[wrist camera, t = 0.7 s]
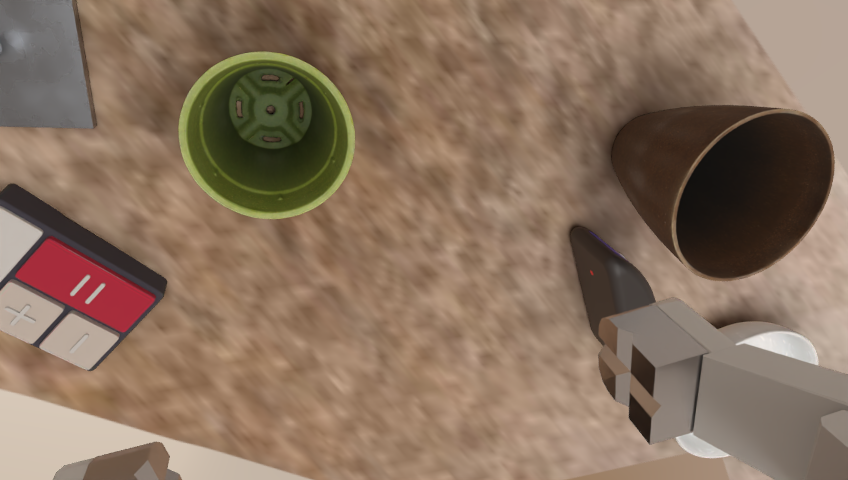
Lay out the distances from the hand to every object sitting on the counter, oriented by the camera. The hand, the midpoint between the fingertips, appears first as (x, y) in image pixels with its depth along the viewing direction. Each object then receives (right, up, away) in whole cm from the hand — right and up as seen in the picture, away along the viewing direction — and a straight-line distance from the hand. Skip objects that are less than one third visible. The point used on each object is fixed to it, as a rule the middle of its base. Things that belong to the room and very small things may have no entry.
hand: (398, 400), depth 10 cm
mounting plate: (-38, +18, +30) cm, 51 cm away
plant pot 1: (-13, +15, +38) cm, 43 cm away
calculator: (-33, 0, +41) cm, 52 cm away
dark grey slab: (+19, -2, +55) cm, 58 cm away
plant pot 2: (+24, +13, +49) cm, 56 cm away
